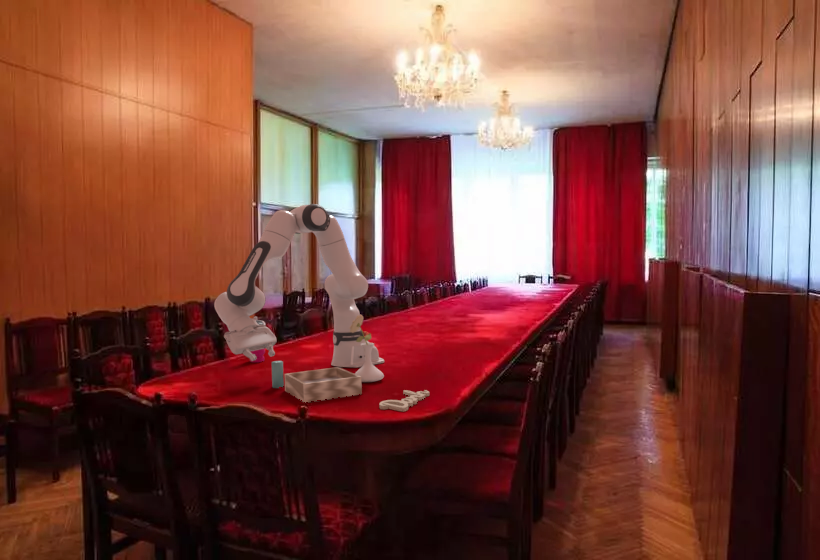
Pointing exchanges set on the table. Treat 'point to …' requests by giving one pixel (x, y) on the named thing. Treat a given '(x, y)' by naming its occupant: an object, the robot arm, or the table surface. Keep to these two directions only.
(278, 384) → the peg
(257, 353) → the pepper mill
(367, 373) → the flower in vase
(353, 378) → the bore box
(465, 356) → the table surface
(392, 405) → the decorative sign
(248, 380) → the table surface
